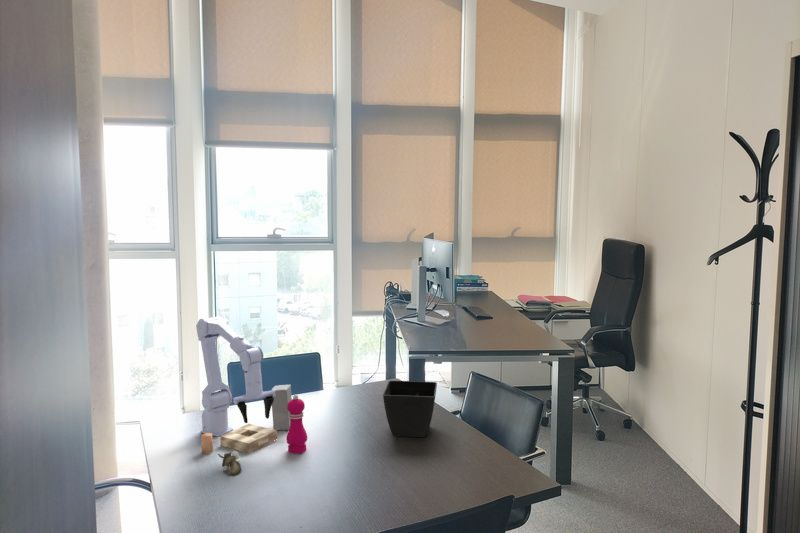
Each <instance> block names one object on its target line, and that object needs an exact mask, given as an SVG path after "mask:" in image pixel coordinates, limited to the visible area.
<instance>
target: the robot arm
mask: <svg viewBox="0 0 800 533" xmlns="http://www.w3.org/2000/svg"><path fill="white" fill-rule="evenodd" d="M195 329H196V333H197V337H198V341H199V342H200V346H201V350H202V357H203V362H204V369H205V376H206V380H207V381H206V382H207V385H206V386H205V388H203V390H202V392H201V394H202V395H201V396H202V397H201V405H202V407H203V411H202V412H201V428H202V429H201V430H200V433H202V434H205V433H212V437H213V436H214V437H220V436H222V435H224V434H226V433H229V432H231V431H233V430H234V428H232V427H229V418H228V417H229V416H228V413H229V412H228V409H229V408H230V405H231V404H232V403H233V404H234V405H236V406H237V408H238V410H239V411H240V413H241V416H242V420H243V423H245V424H249V422H248V414H247V411H248V410H247V408H248V407H247V406H248V405H247V404H246V403H247V402H251V401H257V400H263V405H264V416H265V418H266V419H267V420H268V419H269V418H270V412H271V410H272V403H273V401H274V398H273V397H275V396H276V394H275V391H274V390H272V389H271V390H266V391H264V390H263V380H262V369H261V368H262V366H261V365H262V364H261V363H262V362H263V361H264V352H263V350H262V349H261V347H260V346H255V345H252V344H251V343H250V342H249V341H248V340H247V339H245V337H244V336H243V335H237V334H236V333H235V332H234V330H233V329H232V328H231V327H230V326H229V320H228V319H227V318H226V316H224V315H223V314H222V315H219V316H212V317H206V318H200V319H198V321H197V323H196V328H195ZM220 337H222V338H223V339H224V340H226V342H228V343H229V347H230V349H231V350H232V351H233V352H234V353H235V354H236V355H237V356H238V358H239V362H240V364H241V367H242V368H241V369H242V371H244V372H243V373H244V384H245V386H244V387H245V394H243V395H239V396H236V397H233V395H232V393H231V391H230V386H229V385H227V384H226V383H224V382H223V380H222V375H221V374H222V373H221V367H220V361H219V355H218V348H217V345H216V342H217V340H218V338H220ZM232 400H233V402H232Z"/></svg>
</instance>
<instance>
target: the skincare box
mask: <svg viewBox="0 0 800 533" xmlns="http://www.w3.org/2000/svg"><path fill="white" fill-rule="evenodd" d="M271 390H274V391H275V394H276V396H275V397H273V398H274V401H273V403H272V406H271V414H272V426H273V430H277V431H279V430H280V431H289V428H290V422H291V421H290V418H289V413H290V412H289V411H288V409H287V405H288V402H289V401H290V400H292V399H293V396H292V385H291V384H277V385H274V386H273V387H272V388H271Z"/></svg>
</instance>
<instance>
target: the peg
mask: <svg viewBox="0 0 800 533" xmlns="http://www.w3.org/2000/svg"><path fill="white" fill-rule="evenodd" d="M201 452H202V454H211V453H213V452H214V442H213V435H212V433H202V434H201Z"/></svg>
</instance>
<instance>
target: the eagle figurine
mask: <svg viewBox="0 0 800 533" xmlns="http://www.w3.org/2000/svg"><path fill="white" fill-rule="evenodd" d="M217 455H218V457H220V458H221V459H222V462H221V463H222V464H221V466H222V468H223V470H222V472H225V471H227V469H228V468H229V471H228V474H227V475H228V476H229V477H231V478H232V477H236V476H238V475H239V474H241V472H242V467H241V463H240V462H239V461H238V460H239V459H240V454H239V451H238V450H233V451H232V453H231V452H228V453H224V454H223V456H222V455H221V454H220V453H217Z"/></svg>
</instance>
